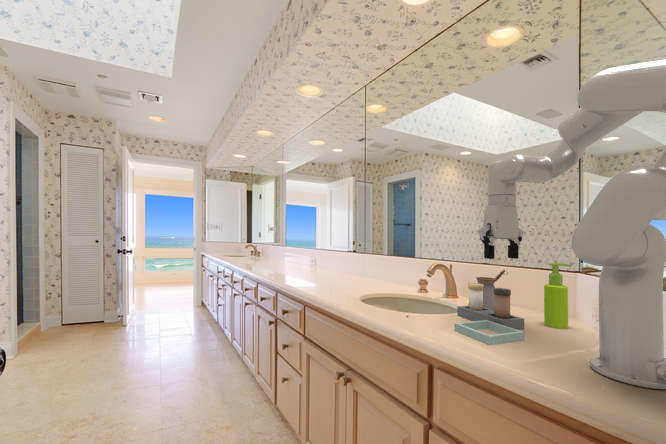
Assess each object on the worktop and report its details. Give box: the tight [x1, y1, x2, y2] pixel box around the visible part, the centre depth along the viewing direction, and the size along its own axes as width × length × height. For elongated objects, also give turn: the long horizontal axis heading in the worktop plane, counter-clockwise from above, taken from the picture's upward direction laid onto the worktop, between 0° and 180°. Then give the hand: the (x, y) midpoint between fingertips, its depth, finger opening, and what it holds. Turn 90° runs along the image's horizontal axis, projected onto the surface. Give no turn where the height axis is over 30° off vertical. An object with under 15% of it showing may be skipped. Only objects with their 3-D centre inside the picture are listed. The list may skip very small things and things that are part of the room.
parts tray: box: [454, 320, 526, 346], centre depth 84 cm, size 12×12×3 cm
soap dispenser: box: [543, 262, 572, 330], centre depth 94 cm, size 6×7×20 cm
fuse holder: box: [456, 305, 525, 331], centre depth 97 cm, size 18×8×4 cm, turn 21°
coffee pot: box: [467, 269, 509, 310], centre depth 114 cm, size 21×12×15 cm, turn 128°
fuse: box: [467, 282, 484, 311], centre depth 102 cm, size 5×5×11 cm
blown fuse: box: [493, 287, 512, 319], centre depth 92 cm, size 5×5×11 cm
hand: (501, 258), depth 93 cm, fingers open, 9 cm apart
